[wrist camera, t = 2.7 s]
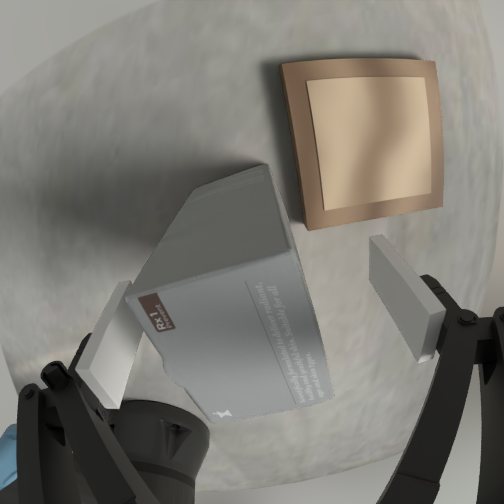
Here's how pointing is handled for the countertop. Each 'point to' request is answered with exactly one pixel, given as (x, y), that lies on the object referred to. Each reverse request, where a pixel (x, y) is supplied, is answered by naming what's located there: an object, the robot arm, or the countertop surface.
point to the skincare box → (233, 303)
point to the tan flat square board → (364, 137)
